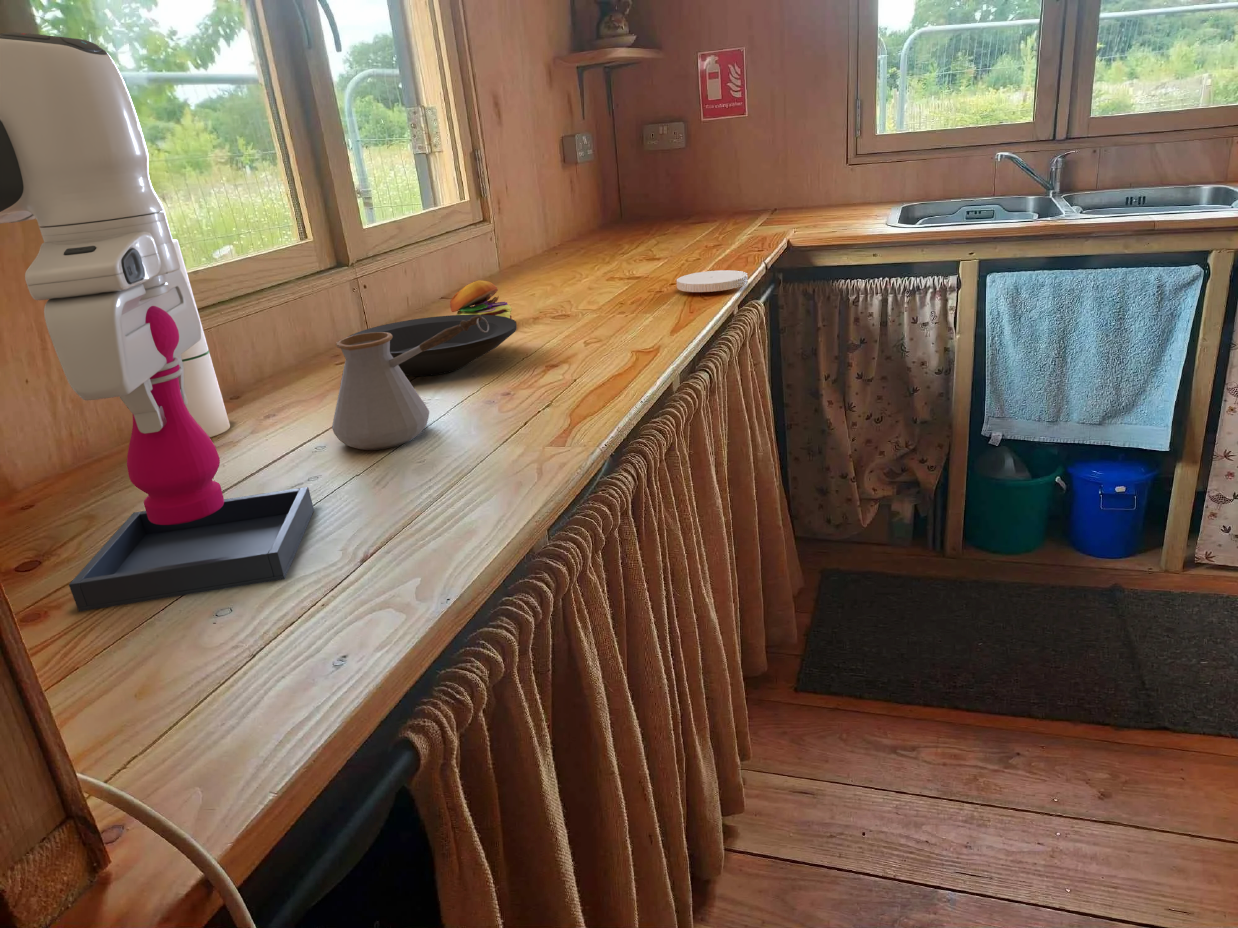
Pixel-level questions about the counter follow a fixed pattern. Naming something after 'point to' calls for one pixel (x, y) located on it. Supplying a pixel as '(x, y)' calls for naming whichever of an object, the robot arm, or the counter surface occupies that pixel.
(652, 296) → the counter surface
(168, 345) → the pepper mill
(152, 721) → the counter surface
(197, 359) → the cylindrical container
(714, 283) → the plastic lid
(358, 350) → the coffee pot
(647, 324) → the counter surface
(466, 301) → the cheeseburger
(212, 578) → the tray
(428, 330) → the black bowl
